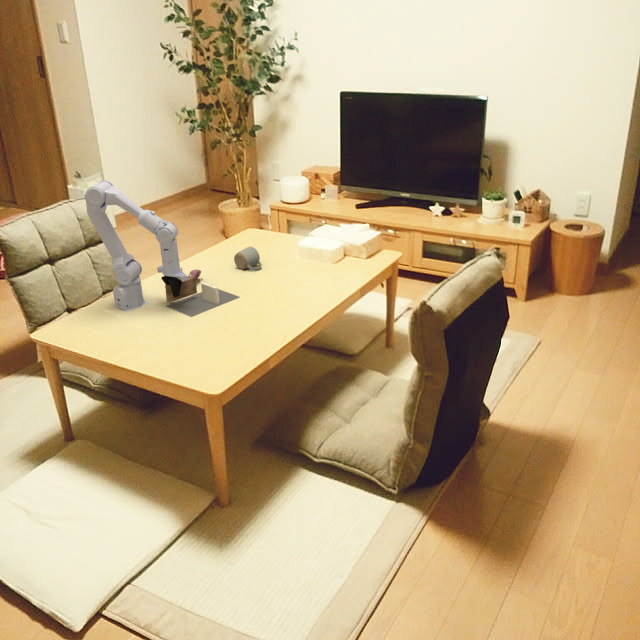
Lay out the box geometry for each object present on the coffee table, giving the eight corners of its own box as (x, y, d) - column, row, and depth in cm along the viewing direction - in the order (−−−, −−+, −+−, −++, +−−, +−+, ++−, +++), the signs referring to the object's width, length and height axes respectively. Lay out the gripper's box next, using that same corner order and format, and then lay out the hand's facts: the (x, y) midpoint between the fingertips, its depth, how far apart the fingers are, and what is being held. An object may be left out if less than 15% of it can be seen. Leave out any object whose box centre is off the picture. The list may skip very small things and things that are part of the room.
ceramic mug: (233, 268, 269) (231, 250, 266) (246, 262, 275) (245, 244, 272) (252, 273, 263) (251, 255, 260) (266, 267, 269) (265, 249, 266)
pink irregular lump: (189, 293, 250) (195, 278, 247) (178, 287, 250) (184, 272, 247) (198, 283, 259) (204, 269, 256) (188, 278, 259) (194, 263, 256)
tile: (217, 304, 234) (215, 288, 232) (202, 298, 239) (201, 283, 237) (220, 303, 235) (218, 287, 233) (205, 297, 240) (204, 282, 238)
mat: (191, 318, 225) (191, 316, 225) (165, 307, 235) (165, 305, 235) (240, 298, 240) (240, 297, 240) (214, 288, 249) (213, 287, 249)
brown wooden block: (169, 302, 232) (167, 286, 229) (166, 301, 233) (165, 285, 230) (197, 293, 240) (195, 277, 237) (194, 292, 241) (193, 276, 238)
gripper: (192, 260, 226) (196, 297, 232) (167, 251, 235) (171, 287, 241) (175, 265, 221) (180, 303, 227) (150, 256, 230) (155, 293, 236)
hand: (174, 295), depth 233 cm, fingers closed on brown wooden block, 1 cm apart
